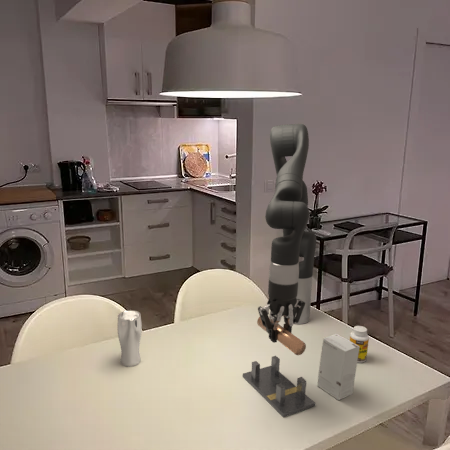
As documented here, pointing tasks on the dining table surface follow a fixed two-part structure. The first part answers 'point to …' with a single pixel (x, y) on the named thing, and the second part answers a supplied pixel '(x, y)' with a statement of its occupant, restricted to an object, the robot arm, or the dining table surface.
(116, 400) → the dining table surface
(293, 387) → the tube holder
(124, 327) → the white sculpted vase
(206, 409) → the dining table surface
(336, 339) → the skincare box
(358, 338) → the supplement bottle
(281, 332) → the copper tube
